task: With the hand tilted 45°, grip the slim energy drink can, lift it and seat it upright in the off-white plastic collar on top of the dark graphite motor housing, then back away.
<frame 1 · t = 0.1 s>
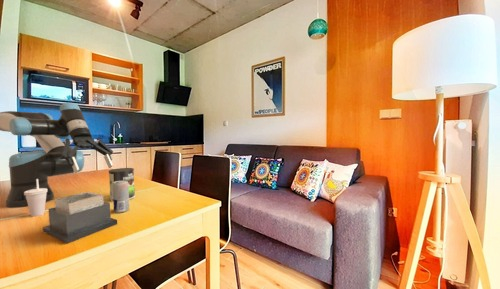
hand: (95, 169, 93), 15 cm above the table, tool tilted 35°, fingers open, 13 cm apart
smoothie: (37, 215, 80), on the table
coffee can: (122, 198, 99), on the table
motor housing: (81, 227, 68), on the table
energy drink: (121, 211, 83), on the table
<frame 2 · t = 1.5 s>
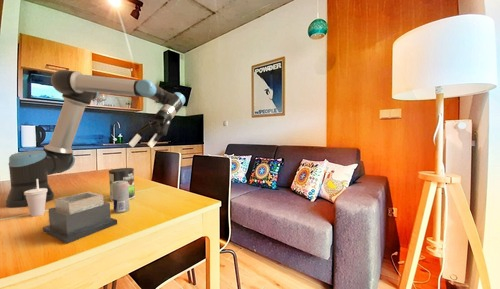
hand: (139, 145, 93), 26 cm above the table, tool tilted 45°, fingers open, 13 cm apart
nothing on the table moved.
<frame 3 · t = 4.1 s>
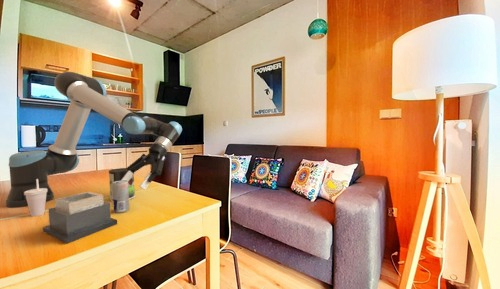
hand: (131, 186, 85), 9 cm above the table, tool tilted 45°, fingers open, 13 cm apart
nothing on the table moved.
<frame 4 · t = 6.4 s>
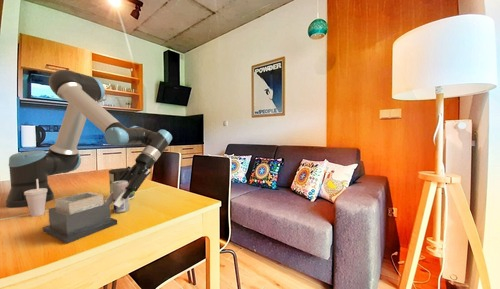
hand: (111, 204, 79), 4 cm above the table, tool tilted 45°, fingers closed on energy drink, 5 cm apart
energy drink: (121, 211, 83), on the table, touching gripper
everything else where it was.
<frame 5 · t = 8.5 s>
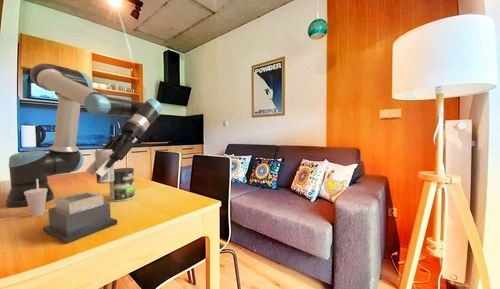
hand: (93, 173, 72), 17 cm above the table, tool tilted 45°, fingers closed on energy drink, 5 cm apart
energy drink: (105, 182, 75), point 13 cm above the table, touching gripper
everything else where it was.
when the fingers open (13 cm above the table, at t = 10.5 s): energy drink drops 1 cm, resting on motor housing.
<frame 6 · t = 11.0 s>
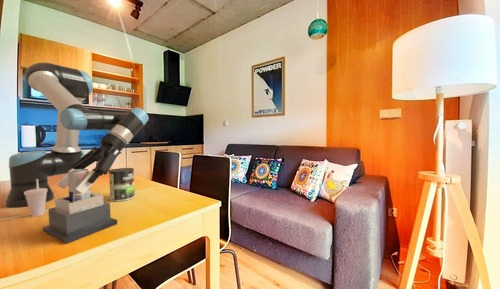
hand: (69, 188, 65), 14 cm above the table, tool tilted 45°, fingers open, 12 cm apart
energy drink: (80, 206, 68), point 7 cm above the table, touching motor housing
everything else where it was.
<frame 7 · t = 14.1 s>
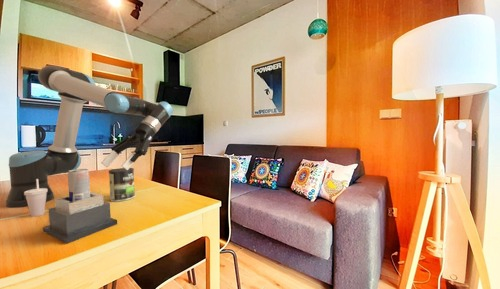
hand: (113, 166, 79), 19 cm above the table, tool tilted 45°, fingers open, 13 cm apart
nothing on the table moved.
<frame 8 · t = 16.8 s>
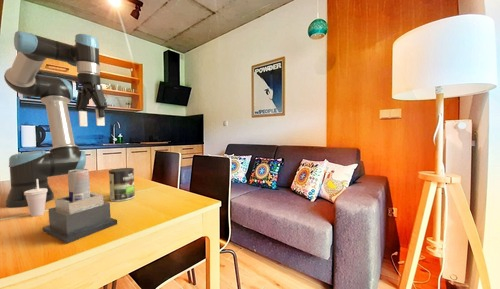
hand: (91, 126, 86), 35 cm above the table, tool pointing down, fingers open, 13 cm apart
nothing on the table moved.
at the end: energy drink 0.1 cm off-centre on the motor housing, point 7.3 cm above the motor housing's base; energy drink tilted 0°; the gripper is holding nothing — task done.
